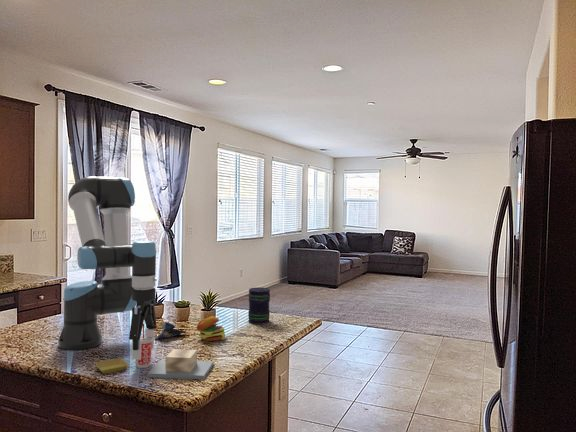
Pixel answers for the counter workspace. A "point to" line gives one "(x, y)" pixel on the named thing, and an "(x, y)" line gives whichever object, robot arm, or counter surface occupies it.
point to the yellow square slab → (112, 365)
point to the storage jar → (259, 305)
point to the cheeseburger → (210, 329)
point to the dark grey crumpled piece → (168, 331)
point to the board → (196, 373)
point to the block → (181, 360)
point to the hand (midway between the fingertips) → (143, 353)
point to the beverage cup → (145, 351)
